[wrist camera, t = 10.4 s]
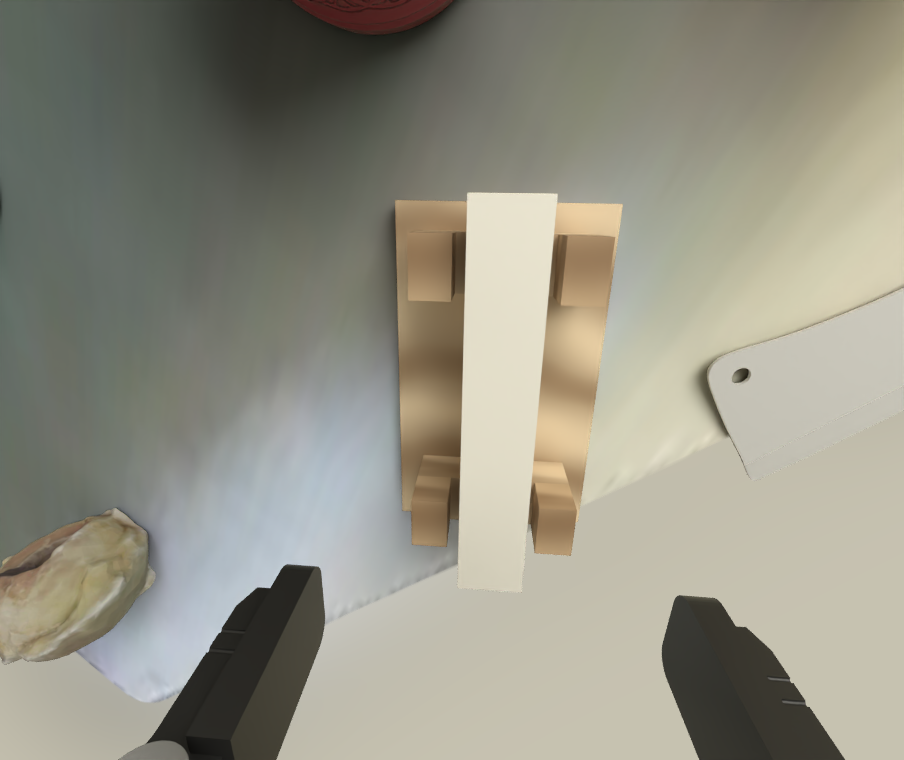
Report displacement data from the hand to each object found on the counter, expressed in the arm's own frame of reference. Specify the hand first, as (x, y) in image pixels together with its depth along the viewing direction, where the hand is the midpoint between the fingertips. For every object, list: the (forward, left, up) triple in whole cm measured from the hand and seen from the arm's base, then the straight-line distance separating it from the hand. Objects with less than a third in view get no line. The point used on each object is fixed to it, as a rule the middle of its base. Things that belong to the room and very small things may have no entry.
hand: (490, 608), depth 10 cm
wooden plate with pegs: (+1, -1, -19) cm, 19 cm away
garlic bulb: (-29, -17, -19) cm, 39 cm away
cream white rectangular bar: (+1, -1, -15) cm, 15 cm away
